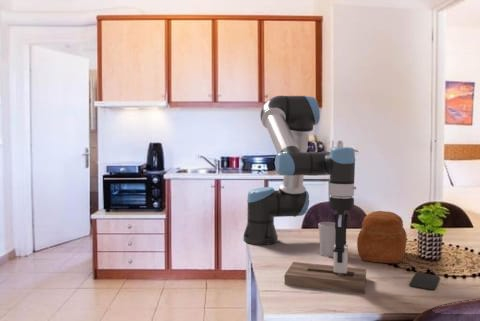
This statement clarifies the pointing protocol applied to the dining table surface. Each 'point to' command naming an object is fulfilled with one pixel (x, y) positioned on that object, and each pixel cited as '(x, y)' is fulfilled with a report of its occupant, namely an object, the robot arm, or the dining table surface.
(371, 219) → the bread
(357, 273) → the keyhole board
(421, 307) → the dining table surface
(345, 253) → the keyhole peg
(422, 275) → the phone
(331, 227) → the cup
